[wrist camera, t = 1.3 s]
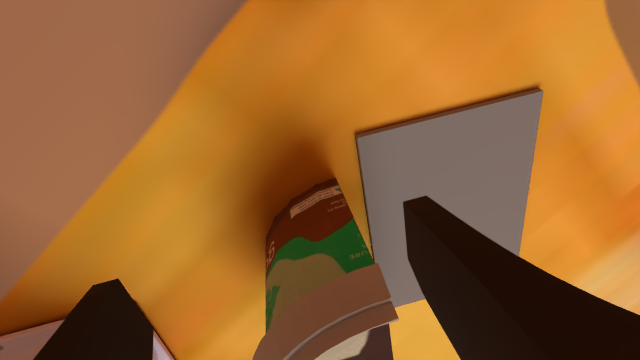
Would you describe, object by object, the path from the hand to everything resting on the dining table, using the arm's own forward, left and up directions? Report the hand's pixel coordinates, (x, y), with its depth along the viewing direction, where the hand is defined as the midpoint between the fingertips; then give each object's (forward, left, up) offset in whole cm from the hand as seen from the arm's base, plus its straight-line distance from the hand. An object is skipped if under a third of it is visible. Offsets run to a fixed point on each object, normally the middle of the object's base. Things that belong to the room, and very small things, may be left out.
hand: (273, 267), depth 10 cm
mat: (+10, -10, -10) cm, 17 cm away
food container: (0, -10, -11) cm, 14 cm away
